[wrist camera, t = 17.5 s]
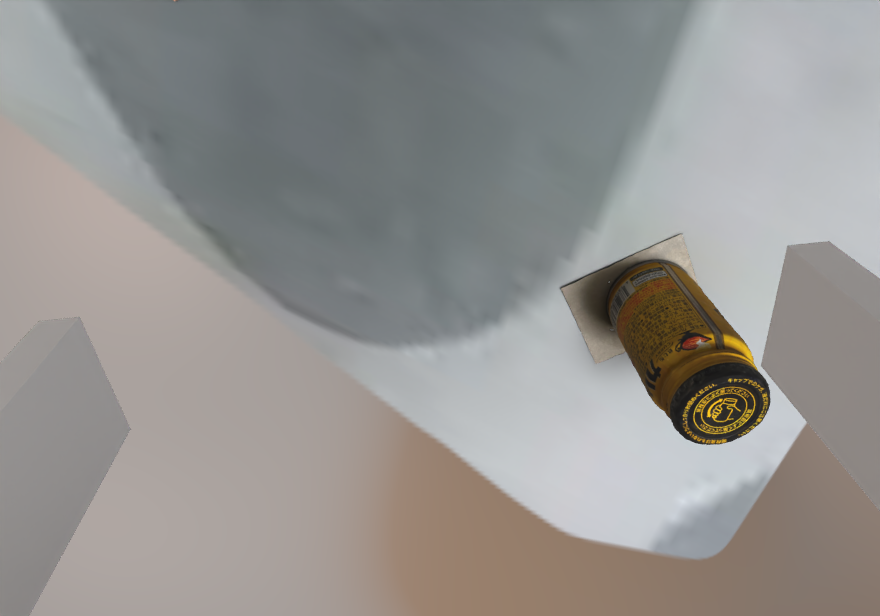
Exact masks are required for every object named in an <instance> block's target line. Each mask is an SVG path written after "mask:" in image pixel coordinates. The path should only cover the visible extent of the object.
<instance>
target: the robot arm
mask: <svg viewBox="0 0 880 616" xmlns="http://www.w3.org/2000/svg"><path fill="white" fill-rule="evenodd" d="M761 366H762V368H763V369H764V370H765V371H766V372H767V374H768V375H769V376H770V377H771V379H772V380H773V381H774V382H775V383H776V385H777V386H778V387H779V388H780V390H781V391H782V392H783V393H784V394H785V396H786V397H787V398H788V399H789V401H790V402H791V403H792V404H793V406H794V407H795V408H796V409H797V410H798V412H799V413H800V414H801V415H802V417H803V418H804V419H805V420H806V421H807V423H808V424H809V425H810V426H811V427H812V429H813V430H814V431H815V432H816V434H817V435H818V436H819V437H820V439H821V440H822V441H823V442H824V443H825V445H826V446H827V447H828V448H829V450H830V451H831V452H832V453H833V454H834V456H835V457H836V458H837V459H838V461H839V462H840V463H841V464H842V465H843V467H844V468H845V469H846V470H847V472H848V473H849V474H850V475H851V476H852V478H853V479H854V480H855V481H856V483H857V484H858V485H859V486H860V487H861V489H862V490H863V491H864V492H865V494H866V495H867V496H868V497H869V499H870V500H871V501H872V502H873V503H874V505H875V506H876V507H877V508H878V510H879V511H880V279H879V278H878V277H877V276H875V275H874V274H873V273H871V272H870V271H869V270H867V269H866V268H864V267H863V266H862V265H860V264H859V263H858V262H856V261H855V260H854V259H852V258H851V257H850V256H848V255H847V254H845V253H844V252H843V251H841V250H840V249H839V248H837V247H836V246H835V245H833V244H832V243H831V242H829V241H828V242H818V243H808V244H798V245H788V246H787V250H786V255H785V259H784V264H783V268H782V273H781V277H780V282H779V286H778V291H777V296H776V300H775V305H774V309H773V314H772V318H771V323H770V327H769V332H768V336H767V341H766V345H765V350H764V354H763V359H762V363H761ZM129 431H130V427H129V424H128V422H127V420H126V418H125V415H124V413H123V411H122V409H121V407H120V404H119V402H118V400H117V398H116V395H115V393H114V391H113V389H112V387H111V384H110V382H109V380H108V378H107V376H106V374H105V371H104V369H103V367H102V365H101V363H100V361H99V358H98V356H97V354H96V352H95V349H94V347H93V345H92V343H91V341H90V338H89V336H88V334H87V332H86V330H85V327H84V325H83V323H82V321H81V319H80V317H74V318H65V319H54V320H45V321H38V322H37V323H36V324H35V325H34V326H33V328H32V329H31V330H30V331H29V332H28V333H27V334H26V335H25V336H24V337H23V338H22V340H20V342H19V343H18V344H17V345H16V346H15V347H14V348H13V349H12V350H11V351H10V352H9V353H8V355H7V356H6V357H5V358H4V359H3V360H2V361H1V362H0V616H29V615H30V613H31V612H32V610H33V608H34V606H35V604H36V602H37V601H38V599H39V597H40V595H41V593H42V591H43V589H44V588H45V586H46V583H47V582H48V580H49V578H50V577H51V575H52V573H53V571H54V569H55V567H56V565H57V564H58V562H59V560H60V558H61V556H62V555H63V552H64V551H65V549H66V547H67V545H68V543H69V542H70V540H71V538H72V536H73V534H74V532H75V531H76V529H77V527H78V525H79V523H80V521H81V519H82V518H83V516H84V514H85V512H86V510H87V508H88V507H89V505H90V503H91V501H92V499H93V497H94V496H95V494H96V492H97V490H98V488H99V486H100V485H101V483H102V481H103V479H104V477H105V475H106V474H107V472H108V470H109V468H110V466H111V464H112V462H113V461H114V459H115V457H116V455H117V453H118V451H119V449H120V448H121V446H122V444H123V442H124V440H125V439H126V437H127V435H128V433H129Z"/></svg>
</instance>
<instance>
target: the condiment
mask: <svg viewBox="0 0 880 616" xmlns="http://www.w3.org/2000/svg"><path fill="white" fill-rule="evenodd" d="M609 281H610V283H608V282H609ZM561 290H562V292H563V294H564V296H565V298H566V300H567V303H568V305H569V307H570V309H571V311H572V313H573V316H574V318H575V320H576V322H577V324H578V326H579V328H580V330H581V332H582V335H583V337H584V339H585V341H586V343H587V345H588V348H589V350H590V352H591V354H592V356H593V358H594V361H595V363H596V364H597V363H600V362H602V361H605V360H608V359H610V358H612V357H614V356H616V355H620V354H623V353H624V352H626V353H627V354H628V356H629V358H630V359H631V361H632V364H633V366H634V367H635V369H636V371H637V372H638V374H639V376H640V378H641V381H642V383H643V384H644V386H645V388H646V390H647V392H648V394H649V396H650V397H651V398H652V400H653V401H654V403H655V404H656V405H657V406H658V407H659V408H660V409H662V410H663V411H665V413H666V415H667V416H668V417H669V418H670V419H671V421H672V423H673V426H674V427H675V429H676V430H677V431H678V432H679V433H680V434H681V435H682V436H683V437H684V438H685V439H687V440H690V441H692V442H695V443H698V444H707V445H710V444H723V443H727V442H731V441H733V440H735V439H737V438H740V437H742V436H743V435H746V434H747V433H749V432H750V431H751V430H752V429H754V428H755V427H756V426H757V425H759V424H760V423H761V422H762V420H763V418H764V417H765V415H766V413H767V411H768V409H769V406H770V390H769V387H768V383H767V382H766V380H765V378H764V377H763V376H762V375H761V374H760V373H759V372H758V370H757V368H756V366H755V365H754V361H753V356H752V354H751V351H750V350H749V348H748V346H747V345H746V343H745V342H744V340H743V339H742V338H741V337H740V335H739V334H738V333H737V332H736V331H735V330H734V329H733V328H732V326H731V325H730V324H729V323H728V322H727V321H726V320H725V319H724V317H723V316H722V315H721V313H720V312H719V311H718V309H717V308H716V307H715V306H714V304H713V303H712V302H711V301H710V300H709V299H708V297H707V296H706V295H705V294H704V293H703V291H702V289H701V288H700V287H699V286H698V283H697V280H696V277H695V273H694V270H693V267H692V264H691V261H690V258H689V254H688V251H687V248H686V245H685V242H684V239H683V236H682V234H680V235H678V236H676V237H673V238H671V239H668V240H666V241H664V242H661V243H659V244H657V245H654V246H652V247H650V248H649V249H646V250H643V251H641V252H638V253H636V254H634V255H633V256H630V257H627V258H626V259H624V260H622V261H620V262H617V263H615V264H614V265H612V266H610V267H608V268H605V269H602V270H600V271H598V272H596V273H593V274H591V275H588V276H586V277H584V278H582V279H581V280H579V281H577V282H575V283H573V284H570V285H568V286H566V287H563V288H561ZM610 329H614V331H611V330H610Z"/></svg>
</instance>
